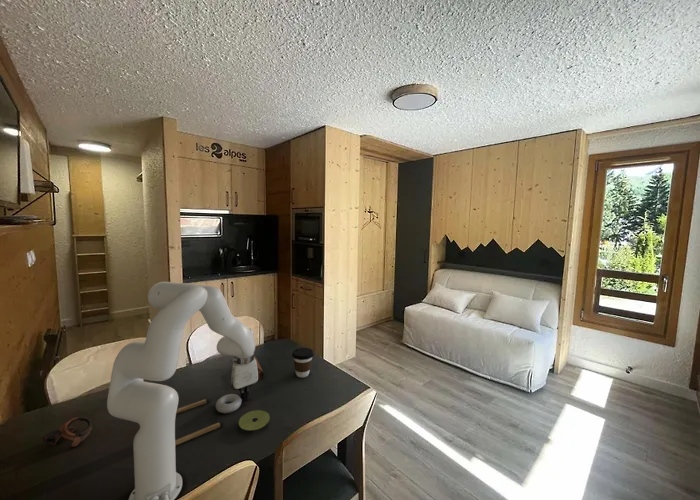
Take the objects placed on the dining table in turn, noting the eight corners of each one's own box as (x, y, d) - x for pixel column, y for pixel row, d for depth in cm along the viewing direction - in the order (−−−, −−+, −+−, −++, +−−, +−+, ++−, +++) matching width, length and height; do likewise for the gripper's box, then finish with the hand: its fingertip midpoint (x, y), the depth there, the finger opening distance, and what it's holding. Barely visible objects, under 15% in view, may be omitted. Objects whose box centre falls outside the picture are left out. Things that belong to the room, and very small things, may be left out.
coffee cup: (287, 378, 143) (288, 354, 142) (296, 367, 153) (297, 345, 152) (308, 381, 140) (309, 358, 139) (316, 370, 151) (317, 348, 150)
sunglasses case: (239, 364, 153) (246, 352, 155) (251, 368, 157) (257, 356, 158) (246, 381, 138) (253, 368, 139) (259, 384, 141) (266, 372, 143)
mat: (248, 440, 102) (248, 434, 102) (233, 424, 110) (233, 419, 109) (275, 423, 111) (275, 419, 111) (259, 410, 118) (259, 406, 118)
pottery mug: (82, 427, 106) (92, 410, 105) (87, 450, 101) (97, 432, 100) (35, 439, 95) (45, 420, 94) (39, 465, 91) (49, 445, 89)
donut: (210, 413, 115) (233, 416, 114) (209, 405, 115) (232, 408, 113) (225, 398, 125) (246, 401, 123) (224, 391, 125) (246, 393, 123)
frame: (220, 427, 108) (220, 424, 108) (166, 449, 97) (166, 446, 97) (205, 401, 122) (205, 398, 122) (157, 418, 111) (157, 415, 111)
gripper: (229, 367, 114) (229, 410, 116) (265, 356, 124) (264, 396, 126) (223, 359, 120) (223, 401, 122) (257, 350, 129) (257, 388, 131)
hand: (244, 398), depth 124 cm, fingers closed
